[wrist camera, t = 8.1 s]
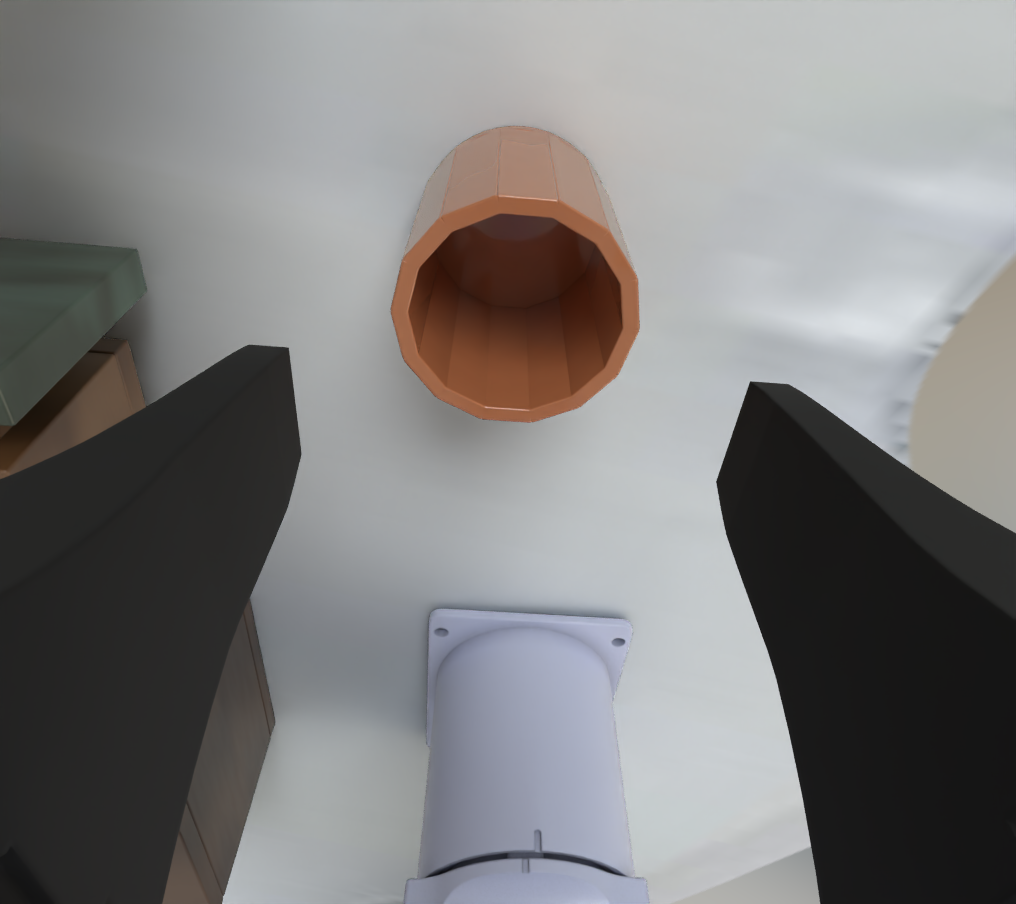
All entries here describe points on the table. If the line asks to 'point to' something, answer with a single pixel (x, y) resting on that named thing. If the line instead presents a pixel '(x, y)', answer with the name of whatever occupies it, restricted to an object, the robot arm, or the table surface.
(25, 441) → the drawer
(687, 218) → the table surface
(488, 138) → the orange brown faceted cup
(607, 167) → the table surface
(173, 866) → the cabinet
